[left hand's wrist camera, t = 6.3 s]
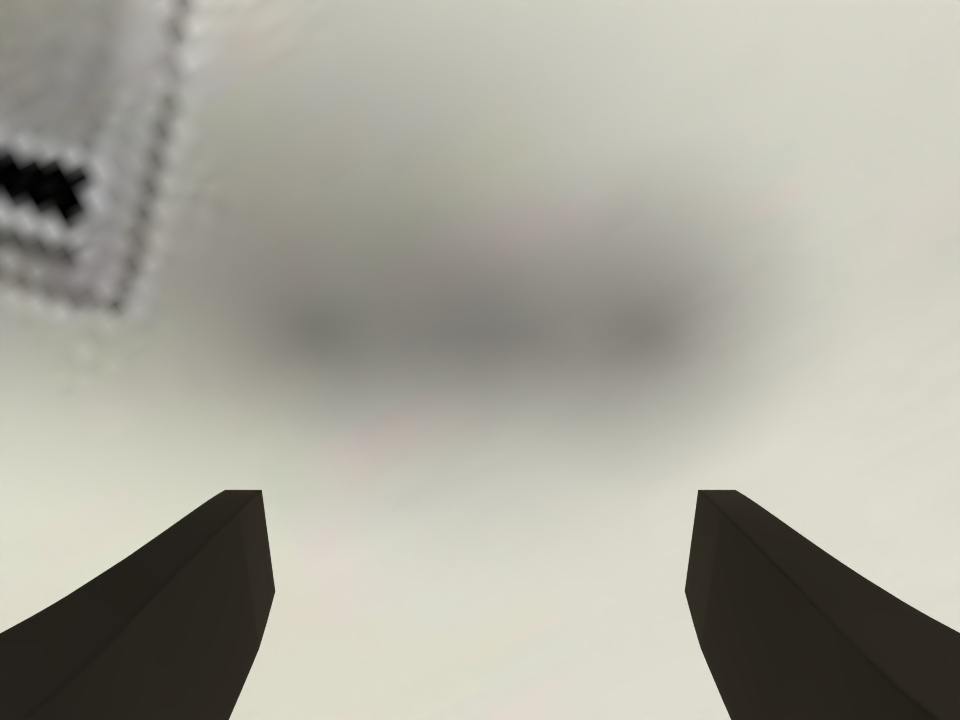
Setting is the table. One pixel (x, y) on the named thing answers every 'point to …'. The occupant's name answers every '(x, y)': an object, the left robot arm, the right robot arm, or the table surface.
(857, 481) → the table surface
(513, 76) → the table surface
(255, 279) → the table surface
